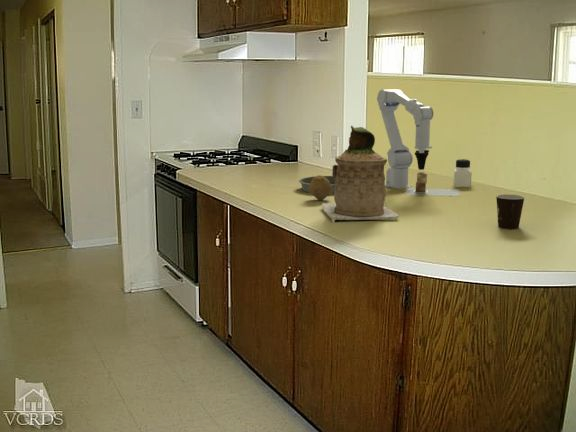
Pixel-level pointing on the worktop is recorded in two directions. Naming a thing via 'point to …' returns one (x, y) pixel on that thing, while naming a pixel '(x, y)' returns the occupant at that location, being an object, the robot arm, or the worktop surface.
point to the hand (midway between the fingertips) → (421, 168)
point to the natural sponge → (320, 187)
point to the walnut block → (421, 187)
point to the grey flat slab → (434, 192)
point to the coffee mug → (509, 210)
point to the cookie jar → (359, 182)
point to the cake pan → (306, 181)
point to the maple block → (421, 177)
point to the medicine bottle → (462, 173)
